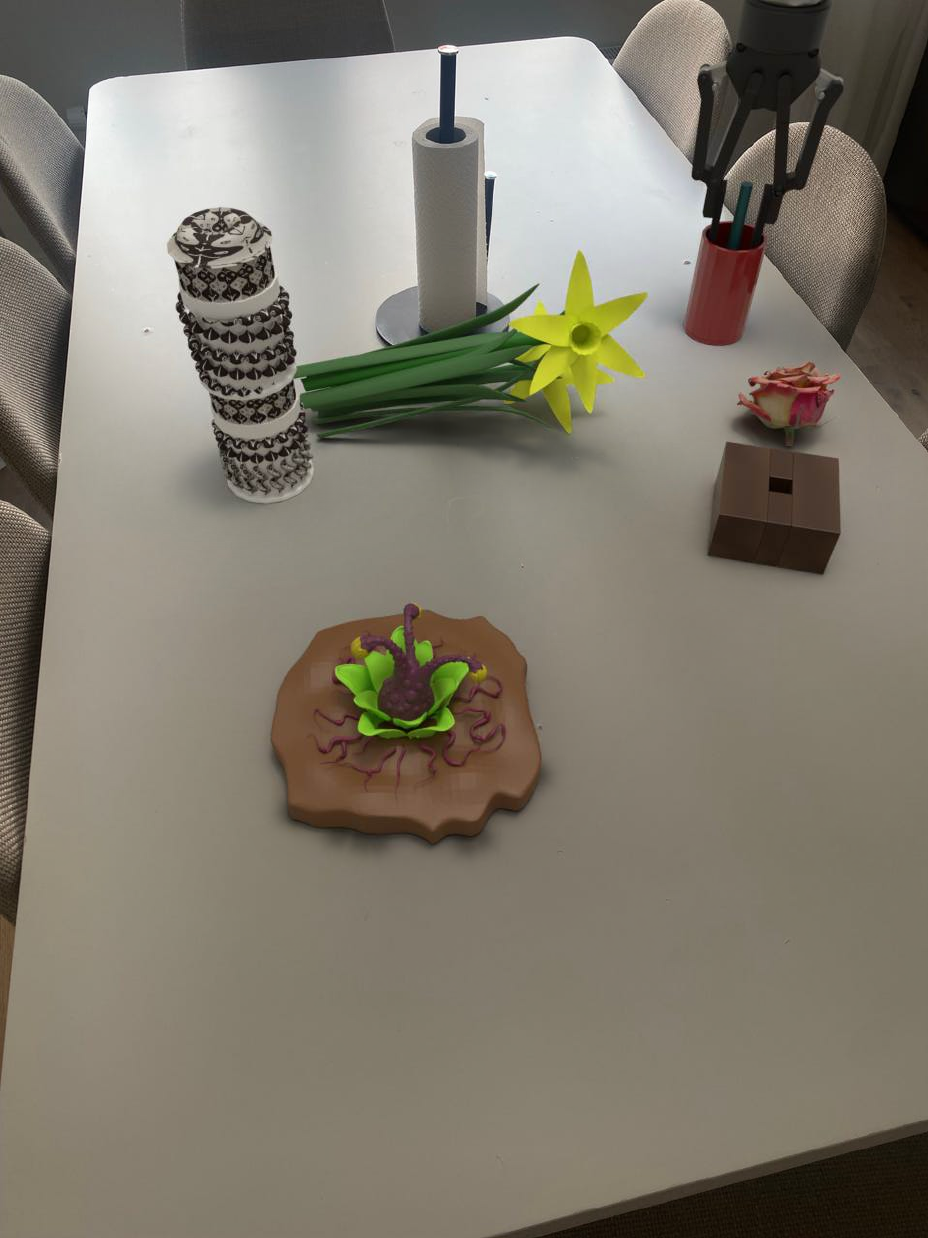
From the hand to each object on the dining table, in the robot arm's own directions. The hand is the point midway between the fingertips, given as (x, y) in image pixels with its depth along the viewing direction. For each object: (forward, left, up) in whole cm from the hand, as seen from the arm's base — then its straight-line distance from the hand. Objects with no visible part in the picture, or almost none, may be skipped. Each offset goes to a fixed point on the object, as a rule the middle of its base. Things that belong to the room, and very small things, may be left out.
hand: (731, 248), depth 97 cm
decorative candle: (+40, +36, -10) cm, 55 cm away
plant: (+19, +61, -10) cm, 65 cm away
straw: (0, 0, -9) cm, 9 cm away
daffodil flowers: (+24, +25, -10) cm, 36 cm away
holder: (-7, +32, -10) cm, 34 cm away
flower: (-7, +17, -10) cm, 21 cm away
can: (0, 0, -10) cm, 10 cm away
